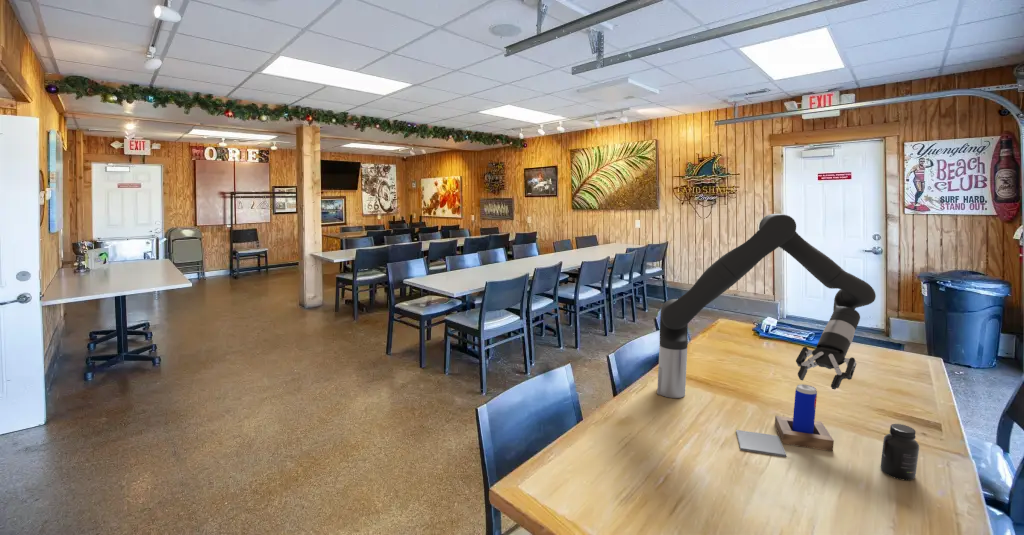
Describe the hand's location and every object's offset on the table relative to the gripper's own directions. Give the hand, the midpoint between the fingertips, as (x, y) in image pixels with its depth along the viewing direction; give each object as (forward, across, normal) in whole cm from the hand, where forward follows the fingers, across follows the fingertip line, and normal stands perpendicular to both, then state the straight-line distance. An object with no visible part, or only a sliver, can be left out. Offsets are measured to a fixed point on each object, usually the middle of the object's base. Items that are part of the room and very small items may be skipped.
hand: (816, 383), depth 138 cm
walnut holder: (+15, 0, +6) cm, 16 cm away
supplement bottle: (+15, +22, +6) cm, 28 cm away
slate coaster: (+24, -5, -4) cm, 25 cm away
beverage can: (+15, 0, +6) cm, 16 cm away
